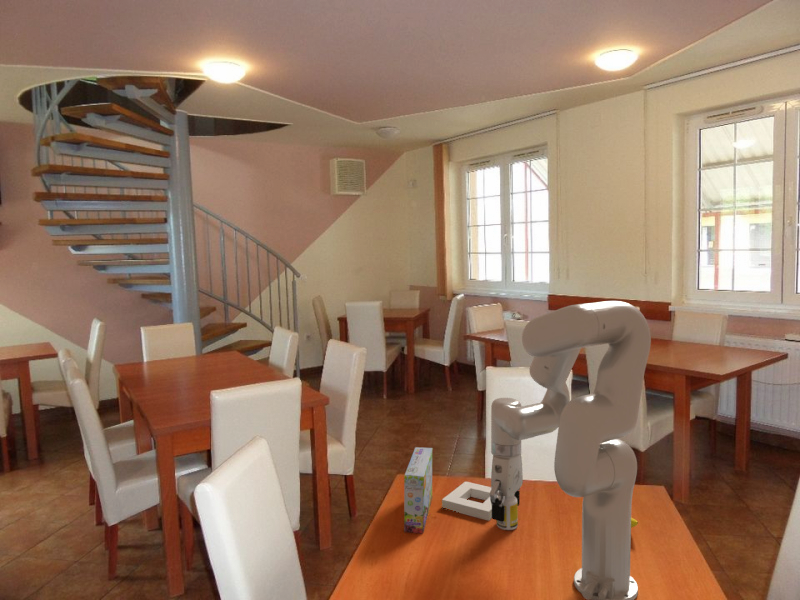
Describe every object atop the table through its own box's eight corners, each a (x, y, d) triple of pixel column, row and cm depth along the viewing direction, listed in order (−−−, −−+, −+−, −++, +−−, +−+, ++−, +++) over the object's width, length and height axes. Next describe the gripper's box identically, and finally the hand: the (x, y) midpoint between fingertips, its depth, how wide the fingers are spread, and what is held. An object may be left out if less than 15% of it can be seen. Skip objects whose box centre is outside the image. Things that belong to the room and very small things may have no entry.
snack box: (425, 534, 145) (424, 476, 143) (403, 533, 146) (402, 475, 144) (433, 497, 166) (433, 446, 164) (414, 496, 166) (413, 445, 165)
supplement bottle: (516, 520, 150) (516, 484, 149) (518, 531, 145) (518, 493, 144) (495, 520, 151) (495, 484, 150) (497, 530, 146) (496, 493, 145)
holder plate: (489, 520, 151) (488, 511, 151) (442, 508, 158) (442, 499, 158) (510, 500, 162) (510, 491, 162) (465, 489, 170) (465, 481, 170)
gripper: (506, 462, 137) (506, 530, 139) (532, 439, 151) (532, 502, 153) (477, 455, 141) (477, 522, 143) (506, 434, 155) (505, 495, 157)
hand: (505, 511), depth 148 cm, fingers open, 9 cm apart
